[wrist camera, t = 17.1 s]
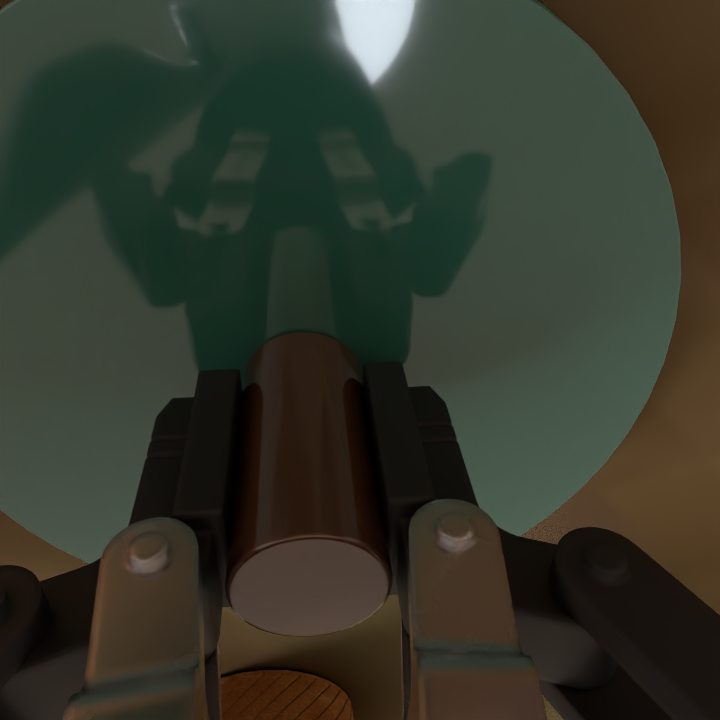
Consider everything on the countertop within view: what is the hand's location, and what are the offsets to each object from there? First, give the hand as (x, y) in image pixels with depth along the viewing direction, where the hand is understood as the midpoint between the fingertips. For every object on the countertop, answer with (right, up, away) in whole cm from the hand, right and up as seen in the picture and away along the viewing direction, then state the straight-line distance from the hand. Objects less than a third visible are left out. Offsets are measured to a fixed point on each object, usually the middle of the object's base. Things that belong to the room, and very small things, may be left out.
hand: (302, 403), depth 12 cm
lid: (0, +1, +1) cm, 1 cm away
